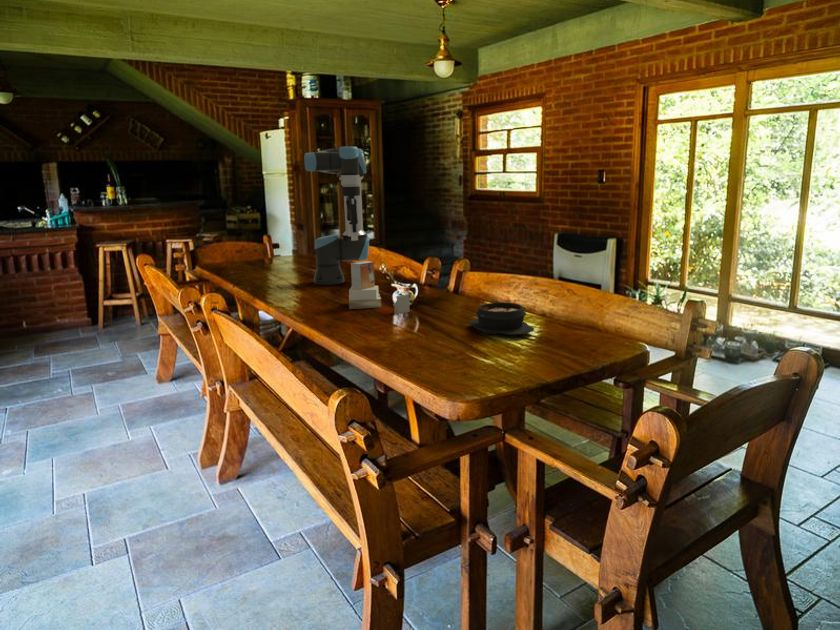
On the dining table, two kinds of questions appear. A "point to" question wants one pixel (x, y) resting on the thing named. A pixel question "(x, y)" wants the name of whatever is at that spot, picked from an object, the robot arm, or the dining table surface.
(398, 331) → the dining table surface
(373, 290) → the tower top slab
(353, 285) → the small box
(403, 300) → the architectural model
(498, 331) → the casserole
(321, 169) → the robot arm
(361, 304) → the tower base slab
